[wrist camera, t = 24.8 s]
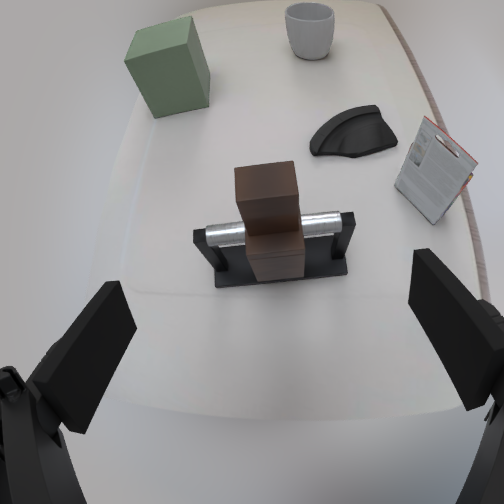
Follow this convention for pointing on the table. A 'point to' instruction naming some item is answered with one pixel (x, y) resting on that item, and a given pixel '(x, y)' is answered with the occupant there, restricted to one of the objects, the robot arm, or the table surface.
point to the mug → (310, 29)
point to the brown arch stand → (271, 220)
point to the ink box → (434, 172)
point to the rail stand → (316, 248)
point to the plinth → (170, 67)
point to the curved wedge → (353, 134)
